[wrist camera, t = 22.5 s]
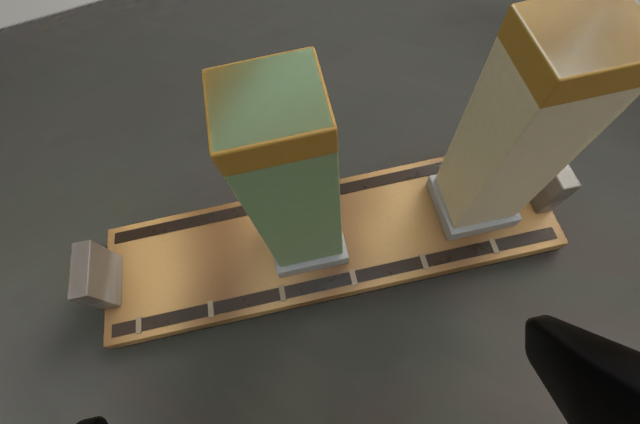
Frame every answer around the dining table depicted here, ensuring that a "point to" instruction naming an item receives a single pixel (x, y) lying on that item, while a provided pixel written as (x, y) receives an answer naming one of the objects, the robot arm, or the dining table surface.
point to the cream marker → (536, 107)
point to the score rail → (259, 266)
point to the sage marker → (280, 154)
